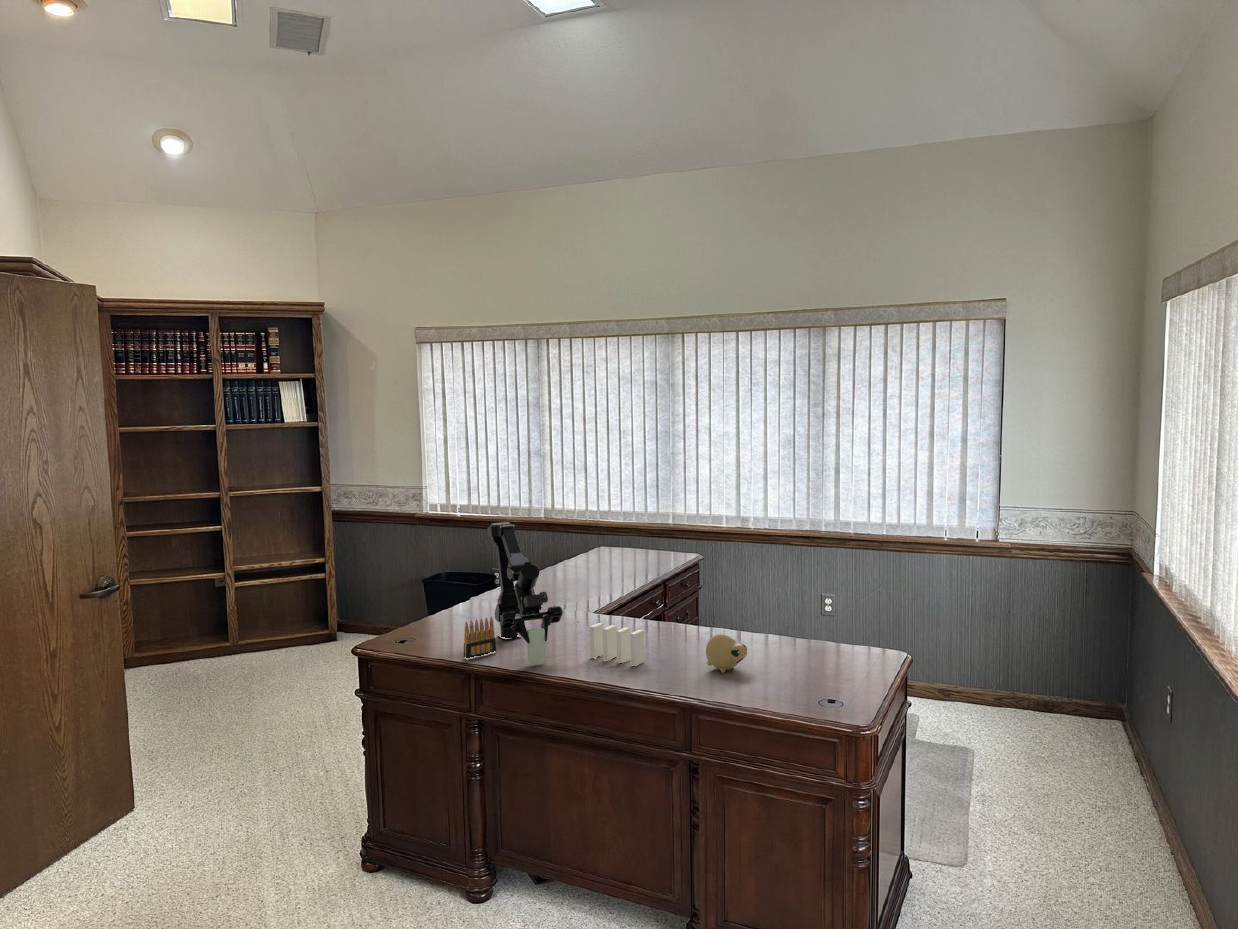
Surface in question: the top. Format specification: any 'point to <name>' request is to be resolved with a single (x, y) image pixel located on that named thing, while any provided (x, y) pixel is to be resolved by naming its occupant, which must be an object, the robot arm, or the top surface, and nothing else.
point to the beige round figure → (724, 652)
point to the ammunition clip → (479, 639)
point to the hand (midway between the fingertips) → (537, 641)
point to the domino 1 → (536, 645)
